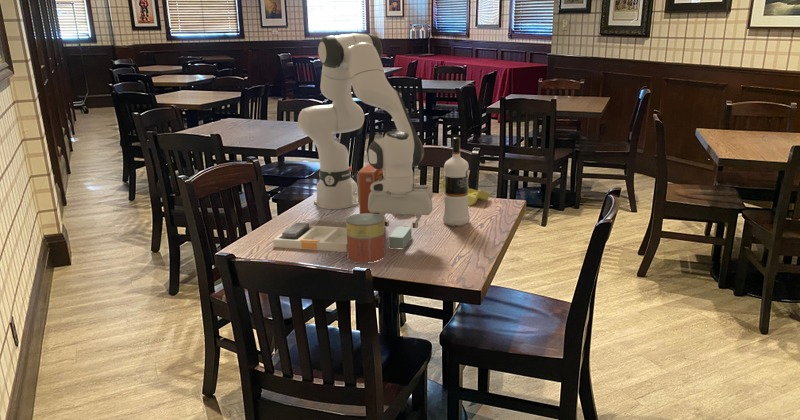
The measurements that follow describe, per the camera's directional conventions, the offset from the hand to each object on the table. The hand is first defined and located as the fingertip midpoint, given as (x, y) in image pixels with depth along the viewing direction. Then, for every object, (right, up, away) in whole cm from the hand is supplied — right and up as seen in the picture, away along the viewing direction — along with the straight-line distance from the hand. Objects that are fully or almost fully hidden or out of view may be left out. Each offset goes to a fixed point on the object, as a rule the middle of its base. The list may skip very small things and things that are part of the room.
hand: (400, 226), depth 190 cm
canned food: (-10, -9, -9) cm, 16 cm away
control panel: (-10, -1, +16) cm, 19 cm away
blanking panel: (0, -5, +2) cm, 6 cm away
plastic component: (+25, +9, +50) cm, 57 cm away
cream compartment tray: (-26, -5, +4) cm, 27 cm away
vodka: (+19, +1, +21) cm, 28 cm away
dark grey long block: (-34, -4, +6) cm, 35 cm away
